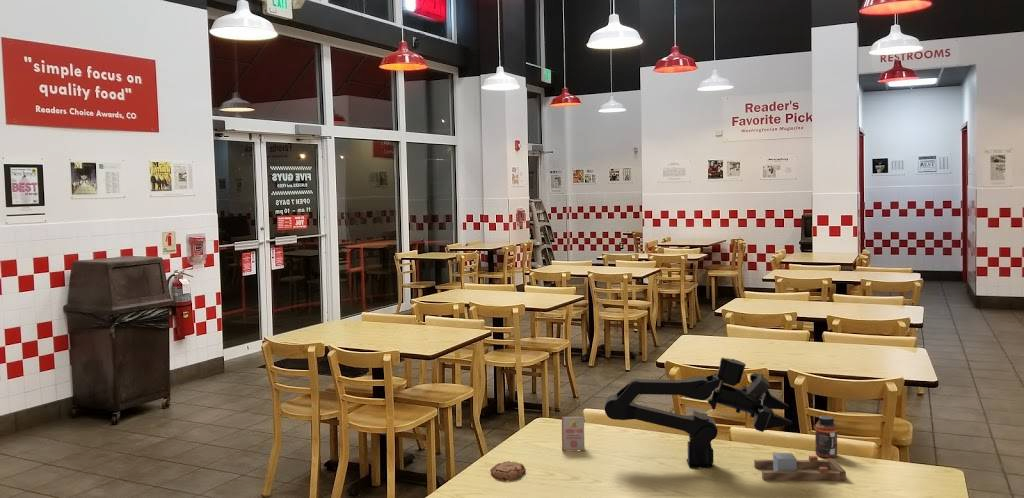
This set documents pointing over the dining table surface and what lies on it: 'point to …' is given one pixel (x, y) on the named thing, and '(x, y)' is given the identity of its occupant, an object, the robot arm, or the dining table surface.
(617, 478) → the dining table surface
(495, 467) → the cookie
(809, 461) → the channel
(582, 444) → the product box
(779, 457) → the rider
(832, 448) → the supplement bottle
